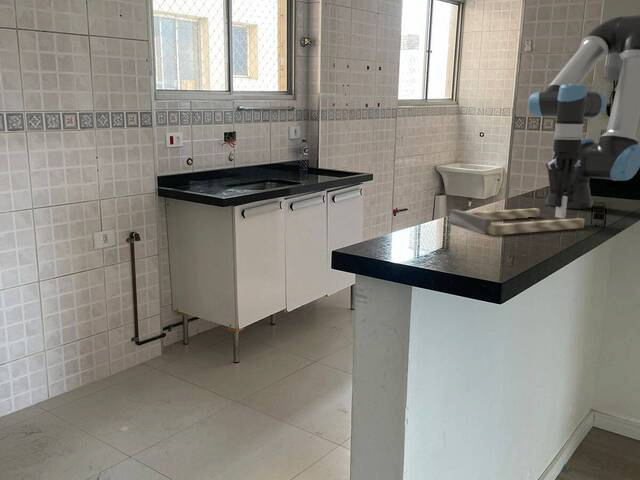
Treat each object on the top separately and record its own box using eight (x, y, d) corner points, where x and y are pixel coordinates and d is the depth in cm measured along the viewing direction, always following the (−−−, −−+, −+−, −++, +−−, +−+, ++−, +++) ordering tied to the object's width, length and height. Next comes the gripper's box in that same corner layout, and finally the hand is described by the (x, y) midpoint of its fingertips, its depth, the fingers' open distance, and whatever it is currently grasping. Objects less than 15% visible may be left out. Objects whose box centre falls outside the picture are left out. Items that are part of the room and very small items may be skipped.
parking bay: (534, 215, 190) (535, 203, 189) (583, 227, 172) (585, 214, 171) (445, 222, 178) (446, 208, 177) (488, 235, 160) (489, 220, 159)
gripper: (575, 137, 182) (567, 213, 187) (541, 138, 177) (534, 216, 183) (594, 138, 175) (586, 218, 181) (560, 139, 170) (552, 221, 176)
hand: (560, 217), depth 182 cm, fingers closed
